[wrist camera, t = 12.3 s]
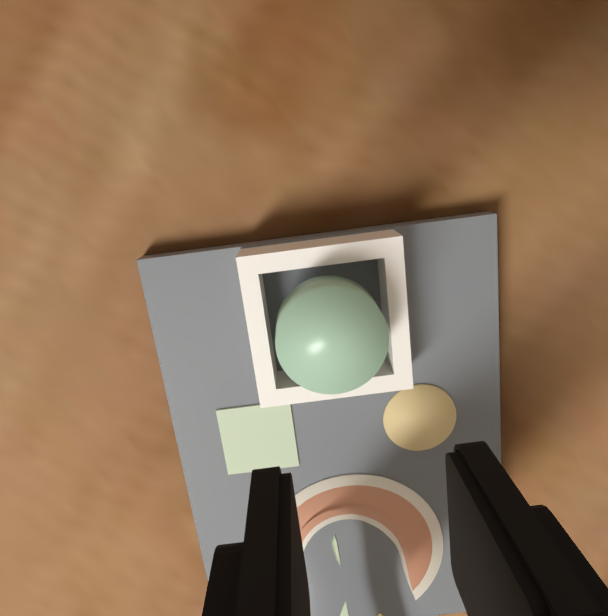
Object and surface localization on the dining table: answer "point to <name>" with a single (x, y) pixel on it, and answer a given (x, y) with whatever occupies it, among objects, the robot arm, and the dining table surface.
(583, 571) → the robot arm
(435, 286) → the picture board
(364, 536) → the beer glass
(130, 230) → the dining table surface
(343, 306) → the button
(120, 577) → the dining table surface
